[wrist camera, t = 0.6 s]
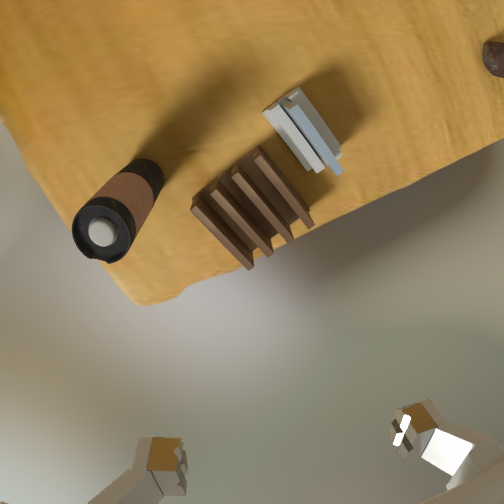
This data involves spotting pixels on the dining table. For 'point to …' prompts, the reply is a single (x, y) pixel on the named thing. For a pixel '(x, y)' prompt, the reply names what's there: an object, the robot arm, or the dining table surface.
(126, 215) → the travel mug
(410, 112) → the dining table surface
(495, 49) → the dark brown tall block
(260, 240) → the dish rack
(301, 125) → the side plate
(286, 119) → the plate stand
